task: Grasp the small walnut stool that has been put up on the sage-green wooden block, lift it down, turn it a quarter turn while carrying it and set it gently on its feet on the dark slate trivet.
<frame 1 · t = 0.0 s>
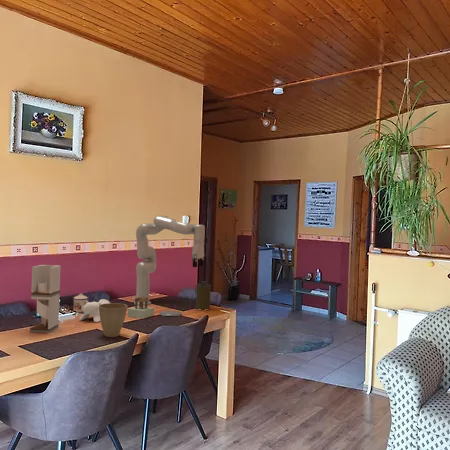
hand: (197, 266, 299), 31 cm above the table, fingers open, 9 cm apart
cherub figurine: (95, 319, 264), on the table
plant pot: (112, 335, 228), on the table
stool: (141, 308, 277), point 5 cm above the table, touching block
block: (140, 315, 277), on the table
lidded ceramic jar: (81, 311, 284), on the table
trivet: (170, 314, 284), on the table
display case: (44, 330, 234), on the table
canister: (202, 309, 306), on the table
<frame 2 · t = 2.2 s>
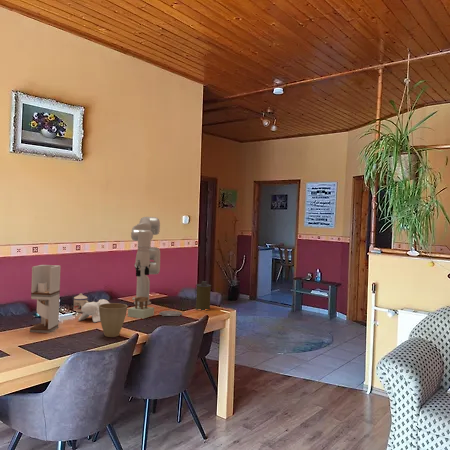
hand: (142, 275, 277), 26 cm above the table, fingers open, 9 cm apart
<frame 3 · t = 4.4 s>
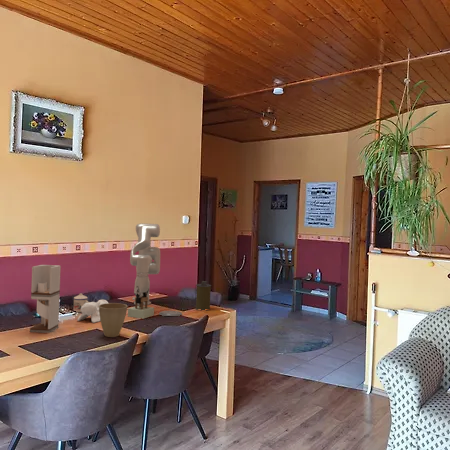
hand: (141, 302, 277), 9 cm above the table, fingers closed on stool, 6 cm apart
stool: (141, 308, 277), point 5 cm above the table, touching block, gripper
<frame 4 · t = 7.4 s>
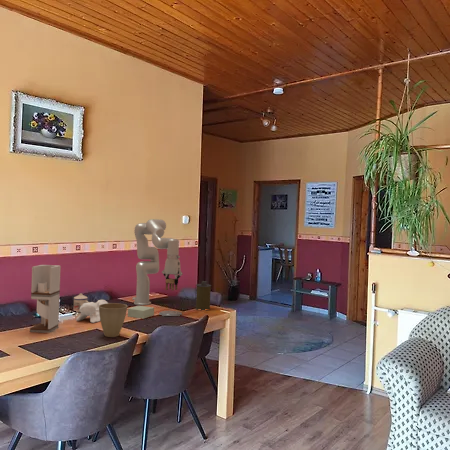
hand: (171, 284, 284), 20 cm above the table, fingers closed on stool, 6 cm apart
stool: (171, 289, 284), point 17 cm above the table, touching gripper
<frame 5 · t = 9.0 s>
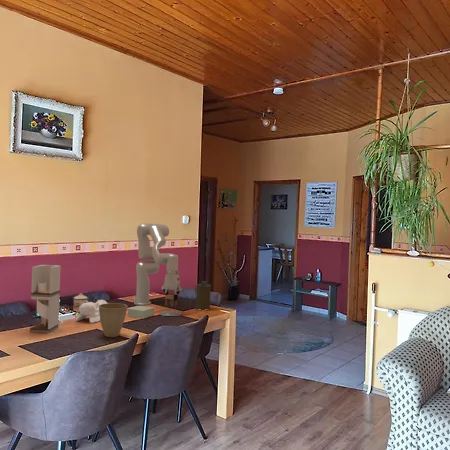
hand: (171, 299, 284), 10 cm above the table, fingers closed on stool, 6 cm apart
stool: (171, 305, 284), point 6 cm above the table, touching gripper
when the fingers open (6 cm above the table, at t = 10.4 s): stool stays where it is, resting on trivet.
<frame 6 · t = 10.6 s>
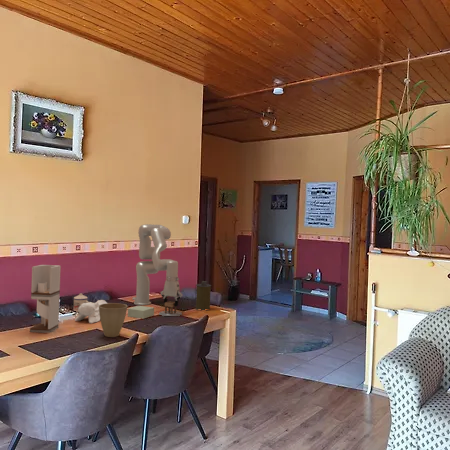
hand: (170, 305, 284), 6 cm above the table, fingers open, 7 cm apart
stool: (170, 313, 284), point 1 cm above the table, touching trivet
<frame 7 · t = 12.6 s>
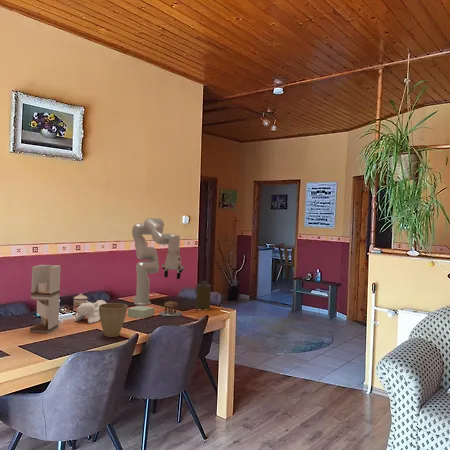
hand: (172, 278, 288), 24 cm above the table, fingers open, 9 cm apart
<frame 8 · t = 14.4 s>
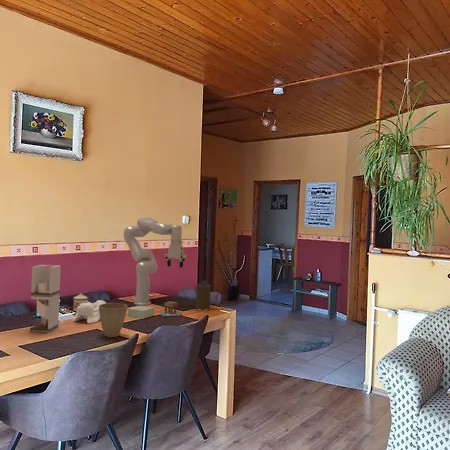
hand: (175, 266, 299), 30 cm above the table, fingers open, 9 cm apart
at the end: stool inside the target area on the trivet (0.1 cm from its centre), point 1.0 cm above the trivet's base; stool tilted 0°; stool touching trivet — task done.
